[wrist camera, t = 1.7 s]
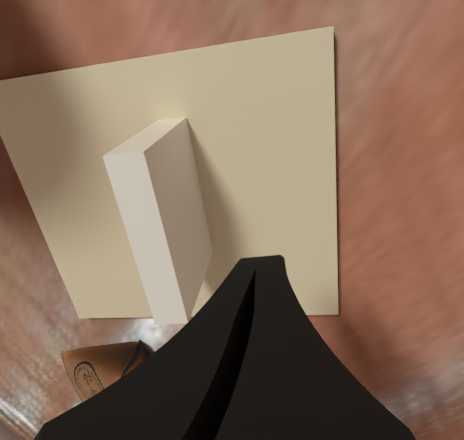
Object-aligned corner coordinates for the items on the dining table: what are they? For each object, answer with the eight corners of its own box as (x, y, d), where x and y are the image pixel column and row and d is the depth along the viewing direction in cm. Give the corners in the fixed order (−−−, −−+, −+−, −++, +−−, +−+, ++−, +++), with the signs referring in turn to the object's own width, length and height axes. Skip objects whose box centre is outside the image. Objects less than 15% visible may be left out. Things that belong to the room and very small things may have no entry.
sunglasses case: (50, 348, 28) (42, 413, 23) (134, 309, 30) (147, 361, 24) (133, 477, 36) (143, 551, 30) (197, 440, 38) (218, 503, 32)
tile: (186, 117, 18) (143, 151, 13) (213, 252, 21) (188, 323, 16) (153, 121, 18) (98, 156, 13) (185, 253, 22) (152, 323, 16)
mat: (332, 26, 16) (333, 25, 15) (337, 308, 23) (338, 314, 22) (-14, 82, 19) (-22, 84, 19) (83, 312, 26) (79, 318, 26)
